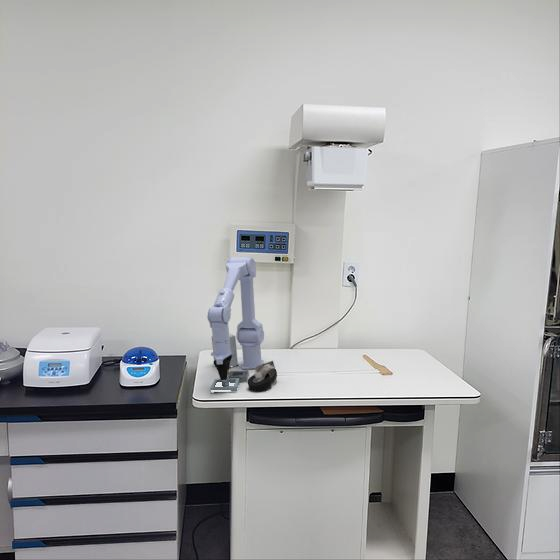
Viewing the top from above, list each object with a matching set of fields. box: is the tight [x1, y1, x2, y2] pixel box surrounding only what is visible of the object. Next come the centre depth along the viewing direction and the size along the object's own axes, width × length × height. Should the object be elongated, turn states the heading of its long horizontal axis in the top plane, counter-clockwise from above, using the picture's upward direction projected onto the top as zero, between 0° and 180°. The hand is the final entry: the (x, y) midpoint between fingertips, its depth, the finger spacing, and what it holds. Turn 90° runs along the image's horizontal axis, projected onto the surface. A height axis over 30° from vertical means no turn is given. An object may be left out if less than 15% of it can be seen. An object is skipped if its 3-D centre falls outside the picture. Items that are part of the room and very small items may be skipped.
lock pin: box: [221, 368, 230, 387], centre depth 176 cm, size 3×3×6 cm
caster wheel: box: [246, 360, 278, 393], centre depth 175 cm, size 7×11×10 cm
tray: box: [209, 378, 241, 392], centre depth 176 cm, size 9×9×2 cm
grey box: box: [211, 333, 239, 368], centre depth 200 cm, size 7×7×13 cm
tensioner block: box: [228, 369, 250, 383], centre depth 184 cm, size 7×7×2 cm
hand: (224, 377), depth 176 cm, fingers open, 3 cm apart
